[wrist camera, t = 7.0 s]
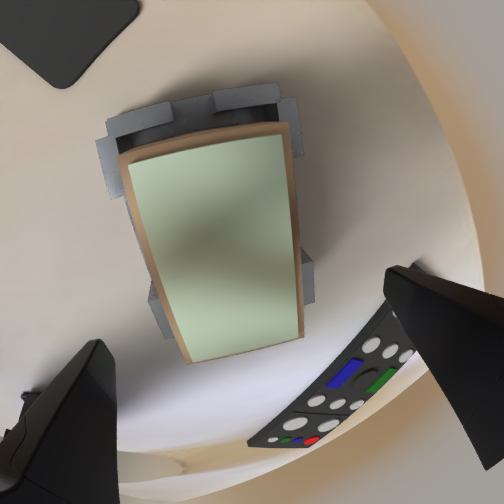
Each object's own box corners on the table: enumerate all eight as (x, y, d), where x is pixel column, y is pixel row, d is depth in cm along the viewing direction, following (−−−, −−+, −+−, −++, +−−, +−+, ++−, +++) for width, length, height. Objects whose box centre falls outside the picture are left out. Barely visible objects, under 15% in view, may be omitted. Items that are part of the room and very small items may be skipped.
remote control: (246, 438, 32) (249, 449, 31) (409, 259, 24) (422, 269, 22) (305, 440, 37) (309, 450, 35) (448, 294, 28) (458, 302, 27)
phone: (62, 96, 12) (-30, 18, 5) (67, 97, 13) (-25, 20, 6) (147, 5, 11) (33, -55, 4) (148, 10, 11) (37, -51, 5)
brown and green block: (277, 285, 18) (306, 340, 13) (184, 305, 17) (187, 369, 13) (256, 121, 13) (291, 122, 9) (141, 144, 13) (114, 156, 8)
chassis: (297, 281, 21) (317, 313, 18) (168, 312, 20) (167, 350, 17) (273, 86, 15) (297, 77, 11) (109, 121, 14) (87, 122, 10)
